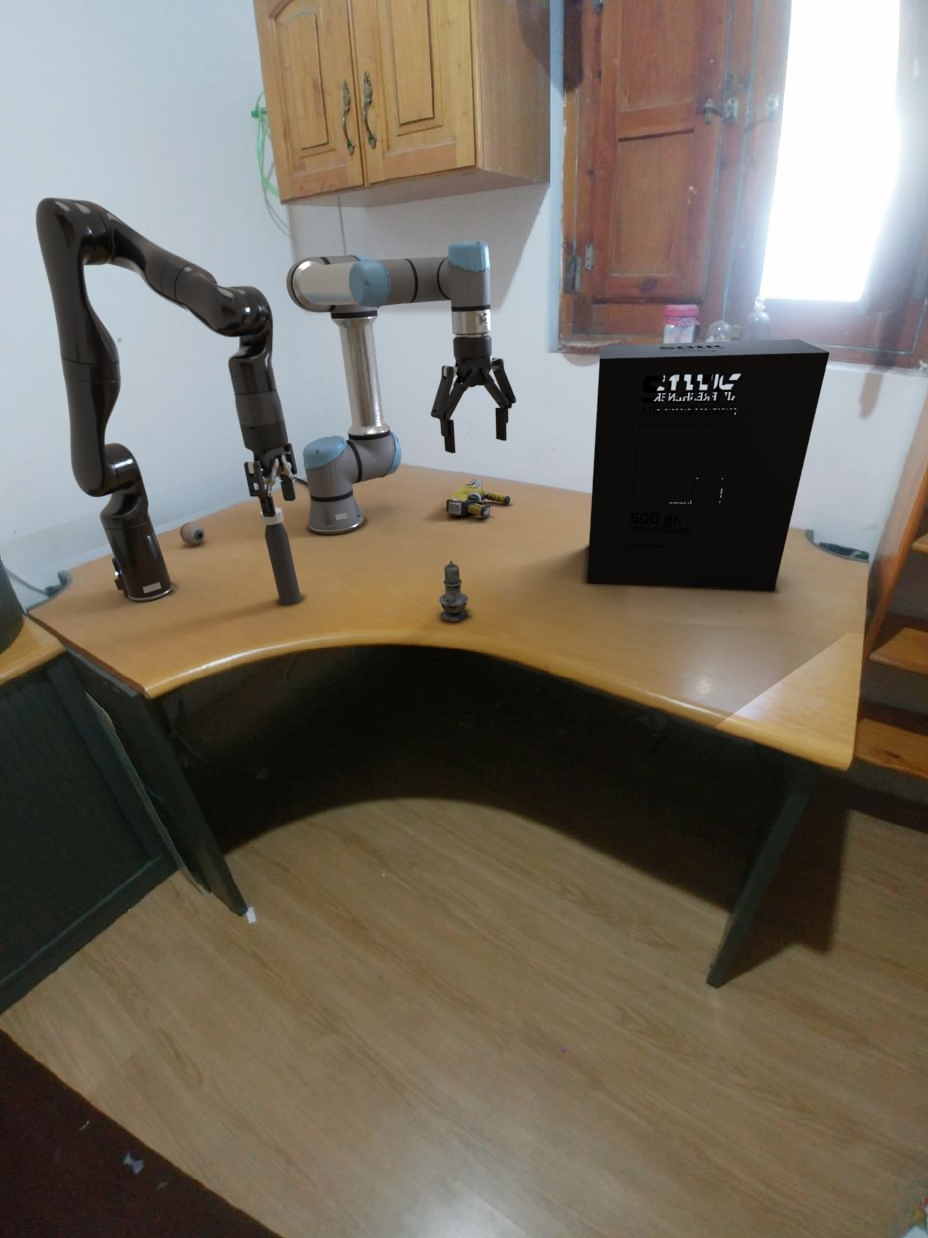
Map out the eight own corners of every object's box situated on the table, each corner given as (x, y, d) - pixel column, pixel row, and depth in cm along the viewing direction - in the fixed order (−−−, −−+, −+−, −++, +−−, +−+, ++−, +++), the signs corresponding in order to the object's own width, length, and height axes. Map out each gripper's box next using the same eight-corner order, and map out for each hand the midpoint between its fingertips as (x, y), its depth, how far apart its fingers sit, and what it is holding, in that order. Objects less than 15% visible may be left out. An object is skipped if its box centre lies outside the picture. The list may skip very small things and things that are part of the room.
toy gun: (518, 484, 183) (472, 477, 187) (496, 507, 163) (444, 499, 167) (517, 499, 185) (471, 492, 189) (494, 524, 165) (443, 515, 169)
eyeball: (193, 549, 159) (187, 528, 156) (179, 545, 162) (172, 524, 159) (212, 541, 163) (206, 520, 160) (198, 538, 166) (191, 517, 163)
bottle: (293, 606, 129) (273, 517, 119) (275, 603, 130) (255, 515, 120) (305, 596, 132) (287, 509, 122) (288, 594, 134) (269, 508, 124)
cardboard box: (754, 550, 140) (797, 339, 118) (774, 590, 123) (829, 352, 101) (589, 545, 148) (601, 345, 125) (586, 582, 131) (599, 358, 108)
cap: (275, 525, 120) (273, 515, 119) (257, 523, 121) (255, 513, 120) (288, 518, 123) (286, 508, 122) (270, 516, 125) (268, 506, 124)
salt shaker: (466, 622, 119) (462, 567, 113) (437, 621, 120) (432, 566, 114) (471, 608, 123) (469, 554, 117) (443, 606, 125) (439, 553, 119)
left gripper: (260, 410, 111) (278, 495, 119) (219, 428, 98) (242, 521, 107) (298, 409, 109) (314, 495, 117) (262, 427, 97) (282, 522, 105)
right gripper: (429, 342, 108) (437, 460, 118) (533, 329, 120) (532, 437, 131) (407, 340, 113) (417, 454, 124) (508, 328, 125) (510, 432, 136)
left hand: (280, 508), depth 112 cm, fingers open, 8 cm apart
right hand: (476, 445), depth 127 cm, fingers open, 13 cm apart
